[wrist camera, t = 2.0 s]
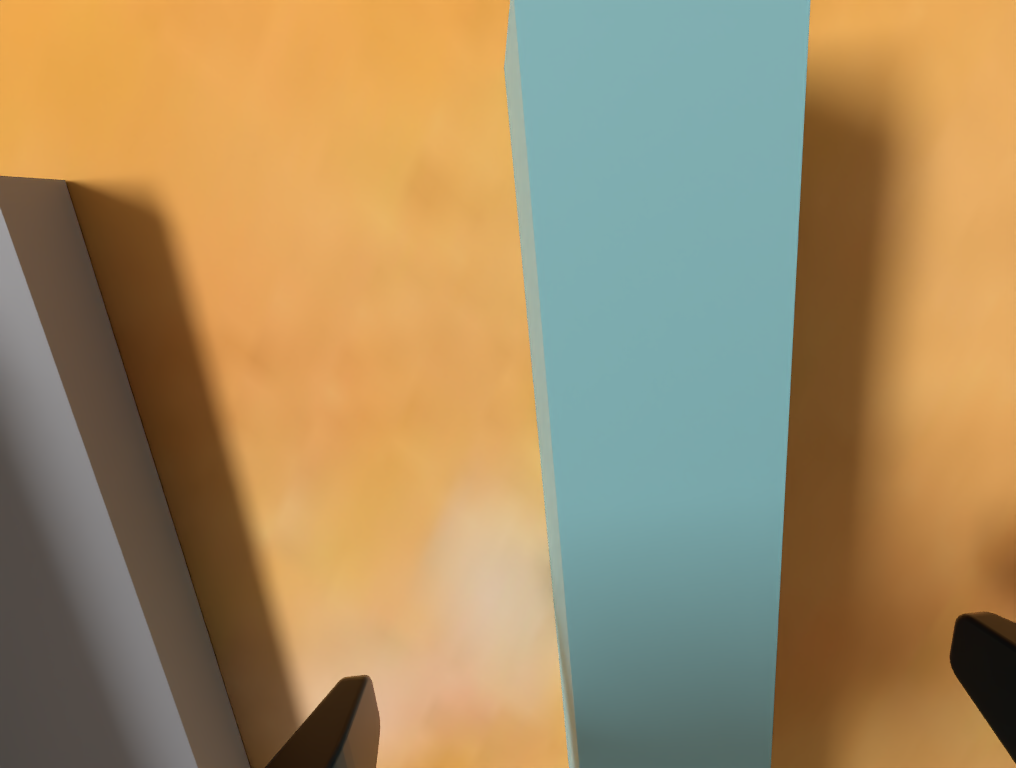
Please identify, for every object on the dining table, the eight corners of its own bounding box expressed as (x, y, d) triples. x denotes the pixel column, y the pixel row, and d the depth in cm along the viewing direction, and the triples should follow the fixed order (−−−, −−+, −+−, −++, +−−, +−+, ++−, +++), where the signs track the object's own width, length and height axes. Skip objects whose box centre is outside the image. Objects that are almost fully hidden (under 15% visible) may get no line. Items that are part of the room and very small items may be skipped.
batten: (688, 823, 15) (756, 1037, 11) (574, 835, 15) (603, 1052, 11) (682, 52, 9) (813, -53, 6) (503, 71, 9) (512, -21, 6)
